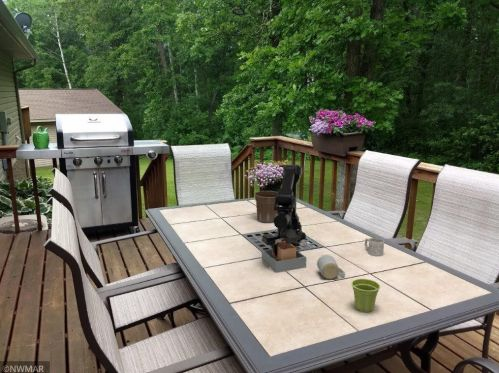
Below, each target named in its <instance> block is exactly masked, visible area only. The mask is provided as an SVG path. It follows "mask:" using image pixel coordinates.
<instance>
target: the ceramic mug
mask: <svg viewBox="0 0 499 373" xmlns="http://www.w3.org/2000/svg"><path fill="white" fill-rule="evenodd" d="M316 266H317V268H318V271H319V272H320V274H321V276H322V277H323V278H325V279H326V280H333V279H335V278H337V277H340V278H344V277H345V275H346V272H345V271H344V270H343V269H342V268H340V267H339V265H338V263H337V261H336V259H335V258H334V257H333V256H332V255H329V254H324V255H321V256H320V257H319V258H318V259H317V261H316Z"/></svg>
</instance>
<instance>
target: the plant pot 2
mask: <svg viewBox="0 0 499 373" xmlns="http://www.w3.org/2000/svg"><path fill="white" fill-rule="evenodd" d="M351 286H352V290H353V297H354V307H355V309H356V310H357V311H361V312H363V313H370V312H372V311H374V308H375V305H376V304H375V303H376V300H377V295H378V292H379V290H380V289H381V284H380V283H378V282H377V281H375V280H373V279H370V278H355V279H353V280H352V281H351Z"/></svg>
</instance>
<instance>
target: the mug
mask: <svg viewBox="0 0 499 373" xmlns="http://www.w3.org/2000/svg"><path fill="white" fill-rule="evenodd" d="M364 248H366V250H368V251H367V253H368V255H370V256H372V257H382V256H384V249H385V240H384V239H383V238H381V237H380V238H379V237H371V238H365V240H364Z"/></svg>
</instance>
